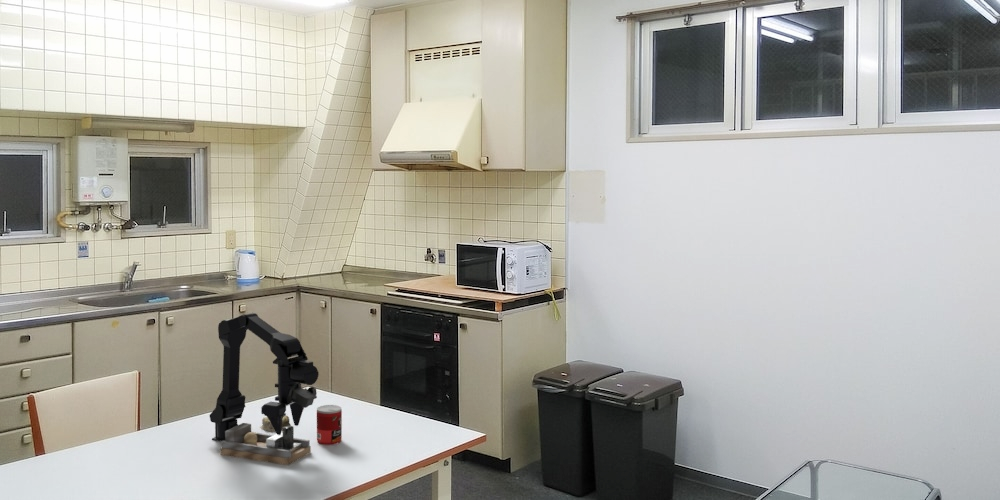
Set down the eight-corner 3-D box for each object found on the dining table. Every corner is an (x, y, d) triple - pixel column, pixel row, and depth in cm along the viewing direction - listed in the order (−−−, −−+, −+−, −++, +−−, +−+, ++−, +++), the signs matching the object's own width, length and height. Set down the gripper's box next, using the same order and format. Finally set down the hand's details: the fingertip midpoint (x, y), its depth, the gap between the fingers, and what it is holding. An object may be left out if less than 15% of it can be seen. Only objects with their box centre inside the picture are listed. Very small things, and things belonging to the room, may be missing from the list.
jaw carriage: (266, 452, 240) (266, 429, 239) (281, 443, 247) (281, 421, 247) (286, 455, 238) (286, 432, 237) (301, 446, 245) (301, 424, 244)
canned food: (336, 446, 252) (336, 412, 251) (312, 444, 254) (312, 410, 253) (345, 438, 260) (345, 405, 259) (322, 436, 261) (322, 403, 260)
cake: (296, 428, 271) (297, 413, 270) (270, 436, 264) (271, 420, 263) (280, 420, 278) (280, 405, 277) (254, 427, 270) (254, 412, 269)
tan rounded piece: (241, 446, 245) (241, 433, 245) (249, 442, 249) (249, 429, 249) (252, 447, 244) (252, 435, 243) (260, 443, 248) (260, 431, 247)
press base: (220, 454, 243) (220, 432, 242) (245, 442, 254) (245, 421, 254) (288, 465, 235) (288, 442, 235) (310, 452, 247) (310, 430, 246)
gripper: (292, 390, 229) (293, 443, 230) (327, 375, 246) (327, 424, 248) (260, 386, 232) (260, 438, 234) (296, 371, 250) (296, 420, 251)
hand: (287, 430), depth 241 cm, fingers open, 9 cm apart
